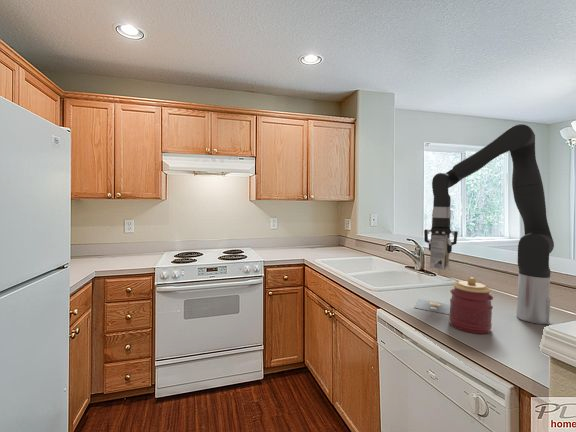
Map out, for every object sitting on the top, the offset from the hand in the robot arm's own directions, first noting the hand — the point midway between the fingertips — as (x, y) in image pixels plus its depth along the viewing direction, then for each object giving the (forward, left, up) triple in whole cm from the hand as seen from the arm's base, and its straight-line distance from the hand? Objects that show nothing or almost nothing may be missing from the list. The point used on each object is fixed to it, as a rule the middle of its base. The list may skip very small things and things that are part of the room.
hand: (439, 252), depth 137 cm
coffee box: (0, 0, -7) cm, 7 cm away
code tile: (0, +15, -21) cm, 26 cm away
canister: (-13, +31, -21) cm, 40 cm away
